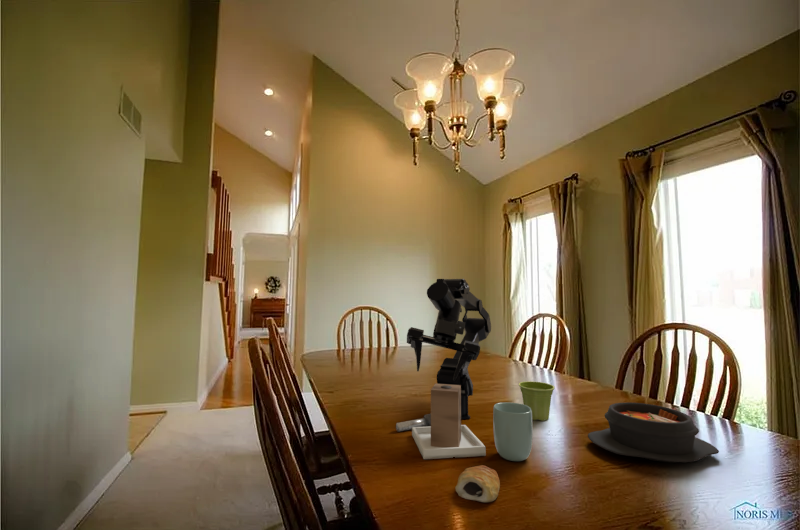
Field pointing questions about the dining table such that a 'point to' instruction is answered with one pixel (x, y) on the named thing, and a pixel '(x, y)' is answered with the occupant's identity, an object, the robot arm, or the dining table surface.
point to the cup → (513, 430)
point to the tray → (466, 448)
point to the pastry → (478, 484)
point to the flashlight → (414, 423)
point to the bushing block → (445, 415)
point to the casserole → (651, 434)
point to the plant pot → (537, 398)
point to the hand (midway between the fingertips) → (435, 375)
